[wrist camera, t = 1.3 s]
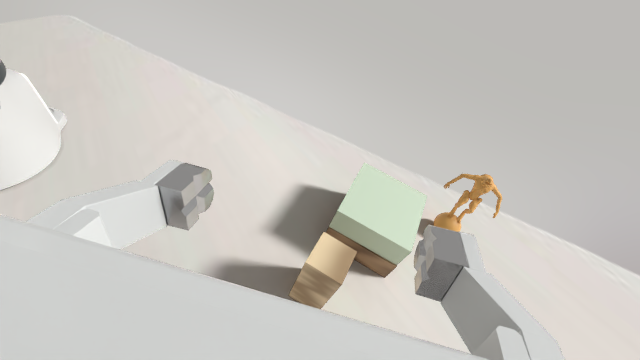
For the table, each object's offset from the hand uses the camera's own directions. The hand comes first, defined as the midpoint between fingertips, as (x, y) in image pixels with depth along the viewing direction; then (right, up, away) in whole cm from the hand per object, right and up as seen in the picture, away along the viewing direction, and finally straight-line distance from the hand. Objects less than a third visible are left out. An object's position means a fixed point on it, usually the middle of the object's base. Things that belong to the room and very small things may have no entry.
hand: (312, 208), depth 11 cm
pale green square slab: (+8, -4, +30) cm, 32 cm away
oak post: (-1, -13, +26) cm, 29 cm away
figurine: (+20, -7, +38) cm, 43 cm away
